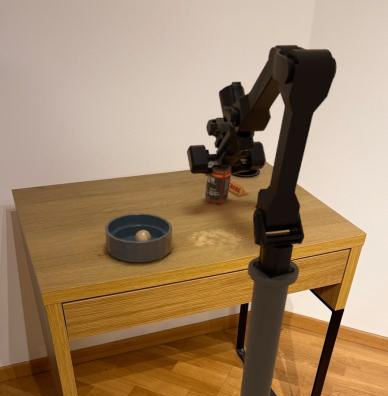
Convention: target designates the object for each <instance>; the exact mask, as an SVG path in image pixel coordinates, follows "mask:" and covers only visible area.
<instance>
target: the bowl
mask: <svg viewBox="0 0 388 396" xmlns="http://www.w3.org/2000/svg"><path fill="white" fill-rule="evenodd" d="M140 230H146V231H148V232H149V233H150V235H151V240H149V241H139V242H136V241H135V235H136V233H137V232H138V231H140ZM104 232H105V233H104V234H105V244H106V251H107V252H108V253H109V255H110V256H112V257H113V258H115V259H118V260H119V261H120V260H121V261H124V262H128V263H129V262H130V263H147V262H152V261H158V260H160V259H162V258H164V257H166V256H167V255H169V253H171V251H172V248H173V226H172V223H171V222H170V221H169V220H168V219H167V218H164V217H162V216H160V215H155V214H151V213H143V212H140V213H128V214H122V215H119V216H116V217H114V218H112V219H110V220H109V221H108V222H107V223H106V224H105V226H104Z"/></svg>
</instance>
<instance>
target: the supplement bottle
mask: <svg viewBox="0 0 388 396" xmlns="http://www.w3.org/2000/svg"><path fill="white" fill-rule="evenodd" d="M212 170H213V173H212V174H210V175H209V176H206V186H205V195H204V196H205V199H206V200H207V201H208V202H210V203H213V204H222V203H225V202H227V200H228V198H229V192H230V191H229V184H230V180H231V177H232V174H231V166H227V167H221V165H213V167H212Z"/></svg>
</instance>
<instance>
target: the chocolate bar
mask: <svg viewBox="0 0 388 396" xmlns="http://www.w3.org/2000/svg"><path fill="white" fill-rule="evenodd" d="M228 192H231V193H233V194H234V195H236V196H238V197H240V196H244V195H247V192H246V190H245V187H244V186H242V185H241V184H239V183H237V182H236V181H234V180H231V179H230V184H229V191H228Z"/></svg>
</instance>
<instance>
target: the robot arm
mask: <svg viewBox="0 0 388 396" xmlns="http://www.w3.org/2000/svg"><path fill="white" fill-rule="evenodd" d="M337 68H338V67H337V61H336V58H334V56H333V54H332V52H331V51H330V49H328V48H310V49H309V48H304V47H301V46H299V45H297V44H277V45H275V46H272V47H271V48H270V49H269V51H268V57H267V60H266V62H265V65H264V66H263V68H262V69H261V71H260V73H259V75H258V76H257V78H256V80H255V82H254V84H253V85H252V87H251V89H250V91H249V92H248V93H246V92H245V88H244V86H243V85H242V82H241V81H232V82H231V84H229V85H226V86H224V87H223V88H222V89H220V90H219V91H218V98H219V103H220V108H221V113H222V117H216V118H211V119H208V121H207V123H206V132H207V135H208V136H209V137H214V138H215V141H214V143H213V145H214V149H216V150H215V153H210V150H209V149H206V145H204V144H194V145H189V146H188V148H187V150H186V155H187V160H188V165H189V171H190V173H191V174H192V175H197V174H201V175H204V176H205V177H207V176H209V175H210V174H212V173H213V170H212V167H213V165H221V167H227V166H231V175H235V174H239V173H244V172H250V171H253V170H262V169H263V168H264V166H265V165H266V163H267V159H266V152H265V149H264V144H263V142H261V141H259V140H257V141H255V140H254V137H255V132H264V131H265V130H266V128H267V127H268V125H269V123H270V121H271V119H272V116H271V108H272V106H273V105H274V103H275V101H276V100H277V99H278V97H279V95H280V97H281V100H282V103H283V105H284V107H283V113H282V114H283V115H282V119H281V125H280V129H279V134H278V140H277V145H276V150H275V154H274V155H275V157H274V160H273V167H272V172H271V176H270V181H269V185H268V187H265V188H260V189H259V190H258V192H257V198H256V199H257V200H256V204H255V206H254V208H255V209H254V211H253V214H252V224H253V226H252V229H253V231H252V232H253V239H254V244H255V245H256V246H259V252H258V253H259V254H258V257H259V261H255V262H253V265H254V266H255V267H256V268H257V269H259V270H260V271H261V272H262V273H264V274H265V275H266V276H267V277H269V278H274V277H277V276H281V275H284V274H288V273H292V272H295V268H293V267H292V266H291V265H290V262H291V261H292V256H293V251H294V245H302V244H303V241H304V239H305V231H304V227H303V223H302V218H301V213H300V210H301V203H300V201H299V199H298V196H297V194H296V189H297V185H298V180H299V176H300V172H301V168H302V164H303V159H304V155H305V151H306V146H307V142H308V138H309V133H310V129H311V125H312V121H313V117H314V113H315V112H317V110H318V109H319V107H320V106H321V105H322V104H323V102H324V101H325V100H326V99H327V98H328V97H329V94H330V90H331V87H332V85H333V82H334V79H335V77H336V74H337Z"/></svg>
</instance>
